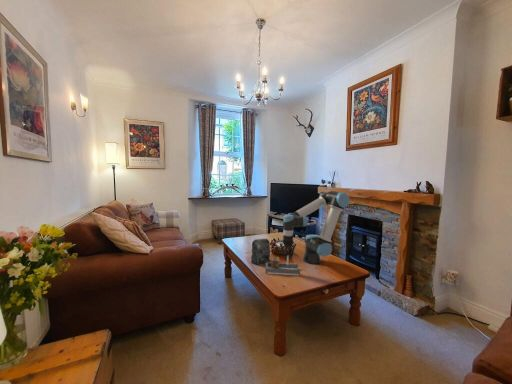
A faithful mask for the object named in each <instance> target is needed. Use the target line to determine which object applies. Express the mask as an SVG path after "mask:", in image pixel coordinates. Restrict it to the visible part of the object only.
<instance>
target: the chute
mask: <svg viewBox="0 0 512 384" xmlns="http://www.w3.org/2000/svg"><path fill="white" fill-rule="evenodd" d="M265 274H266V275H267V274H269V275H282V276H283V275H284V276H285V275H286V276H300V269H299V264H298V263H293V262H292V263H291V262H290V263H289V265H287V264H286V262H279V268H271V261H269V262H268V261H266V262H265Z"/></svg>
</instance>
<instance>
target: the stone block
mask: <svg viewBox="0 0 512 384" xmlns="http://www.w3.org/2000/svg"><path fill="white" fill-rule="evenodd" d="M270 244H271V243H270V240H269V239H268V238H256V239H254V240H252V242H251V257H250V259H251V264H254V265H255V264H256V265H261V264H264V263H266V262H268V261H270V258H271V249H270V248H271V245H270Z"/></svg>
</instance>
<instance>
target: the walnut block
mask: <svg viewBox="0 0 512 384" xmlns="http://www.w3.org/2000/svg"><path fill="white" fill-rule="evenodd" d="M270 258H271V261H270V262H271V268H279V263H280V257H279V256H270Z"/></svg>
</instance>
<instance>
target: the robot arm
mask: <svg viewBox="0 0 512 384" xmlns="http://www.w3.org/2000/svg"><path fill="white" fill-rule="evenodd" d="M350 201H351V200H350V196H349V195H348V194H347V193H346V192H342V191H334V190H331V191H328V192H325V193H323V194H321V195H320V196H318V198H317V199H314V200H313V201H311V202H310V203H307V204H306V205H304V206H302V207H301V208H299V209H298V210H296V211H294V212H289V213H288V214H285V215H284V216H283V233H282V234H283V236H282V242H279V245H280V248H281V253H282V256H283V257H284V258H285V259H284V260H285V261H286V262H285V263H286V264H287V265H289V261H291V257H293V255H294V252H295V248H296V247H297V243H295V242H294V228H298V227H299V228H300V227H301V228H303V227H307V226H308V224H309V219H308V218H307V216H308V215H310V214H312V213H314V212H315V211H317V210H318V209H320V208H322V207H326V206H329V210H328V213H327V215H326V219H325V221H324V224H323V226H322V230H321V233H320V235H318V234H307V235H305V244H304V245H305V247H304V248H305V249H304V254H303V256H302V261H303V262H304V263H306V264H310V265H318V264H320V263H321V257H327V256H329V255H331V253H332V252H333V247H332V240H331V239H332V237H333V234H334V232H335V228H336V227H337V222H338V220H339V218H340V214H341V212H343V211H344V209H345V208H346V207H348V206H349V205H350ZM284 247H285V251H284ZM291 248H292V249H291Z"/></svg>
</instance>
